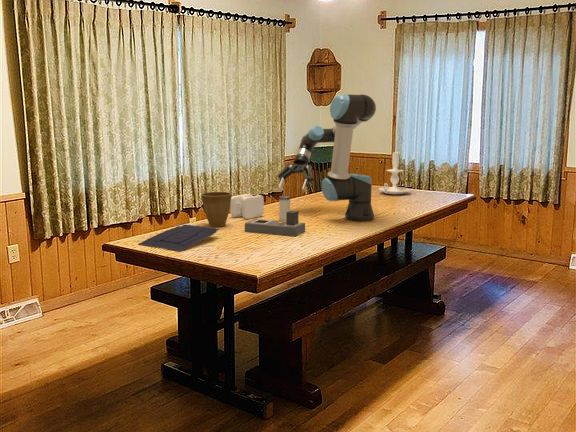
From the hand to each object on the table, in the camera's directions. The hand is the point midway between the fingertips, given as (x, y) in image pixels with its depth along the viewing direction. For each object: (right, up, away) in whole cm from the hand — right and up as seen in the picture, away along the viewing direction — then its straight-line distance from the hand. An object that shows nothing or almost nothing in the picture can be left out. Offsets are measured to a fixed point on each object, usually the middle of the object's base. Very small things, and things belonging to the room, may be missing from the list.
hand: (291, 189), depth 326 cm
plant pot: (-37, -19, -21) cm, 47 cm away
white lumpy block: (-24, -15, 0) cm, 28 cm away
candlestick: (+67, 0, +75) cm, 100 cm away
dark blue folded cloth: (-49, -26, -54) cm, 78 cm away
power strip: (-8, -21, -34) cm, 41 cm away
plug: (-4, -16, -6) cm, 17 cm away
